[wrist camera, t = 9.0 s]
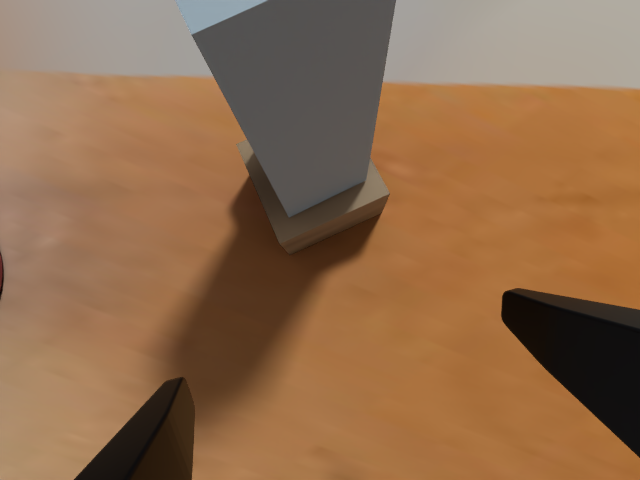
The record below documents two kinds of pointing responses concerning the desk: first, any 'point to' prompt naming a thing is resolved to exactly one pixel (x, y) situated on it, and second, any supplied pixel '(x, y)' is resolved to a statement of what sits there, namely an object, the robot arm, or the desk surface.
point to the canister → (0, 271)
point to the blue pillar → (299, 85)
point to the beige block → (316, 206)
